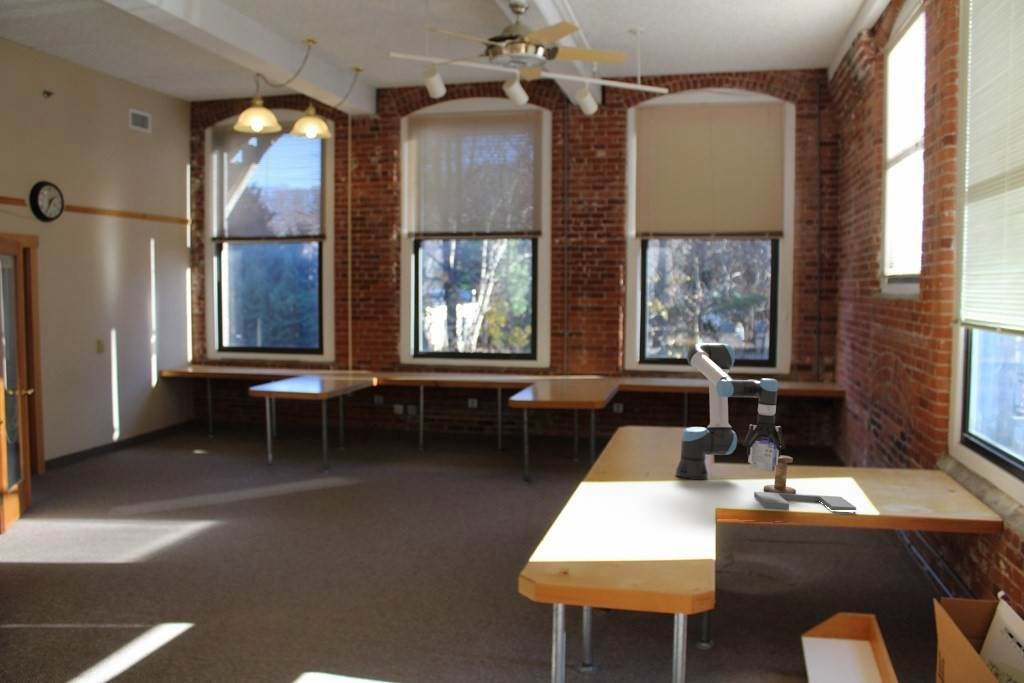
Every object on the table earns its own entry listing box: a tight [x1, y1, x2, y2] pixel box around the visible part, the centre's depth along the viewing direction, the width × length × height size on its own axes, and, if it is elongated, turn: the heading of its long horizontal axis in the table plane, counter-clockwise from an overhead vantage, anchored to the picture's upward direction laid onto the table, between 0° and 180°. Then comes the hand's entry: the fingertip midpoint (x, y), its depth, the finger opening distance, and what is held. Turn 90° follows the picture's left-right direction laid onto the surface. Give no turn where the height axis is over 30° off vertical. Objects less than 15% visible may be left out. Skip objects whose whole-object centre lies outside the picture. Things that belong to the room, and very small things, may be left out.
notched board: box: [753, 491, 857, 511], centre depth 375 cm, size 38×18×2 cm, turn 89°
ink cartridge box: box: [749, 435, 777, 473], centre depth 384 cm, size 10×6×14 cm, turn 60°
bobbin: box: [763, 454, 797, 494], centre depth 396 cm, size 14×14×16 cm
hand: (762, 463), depth 384 cm, fingers closed on ink cartridge box, 11 cm apart
